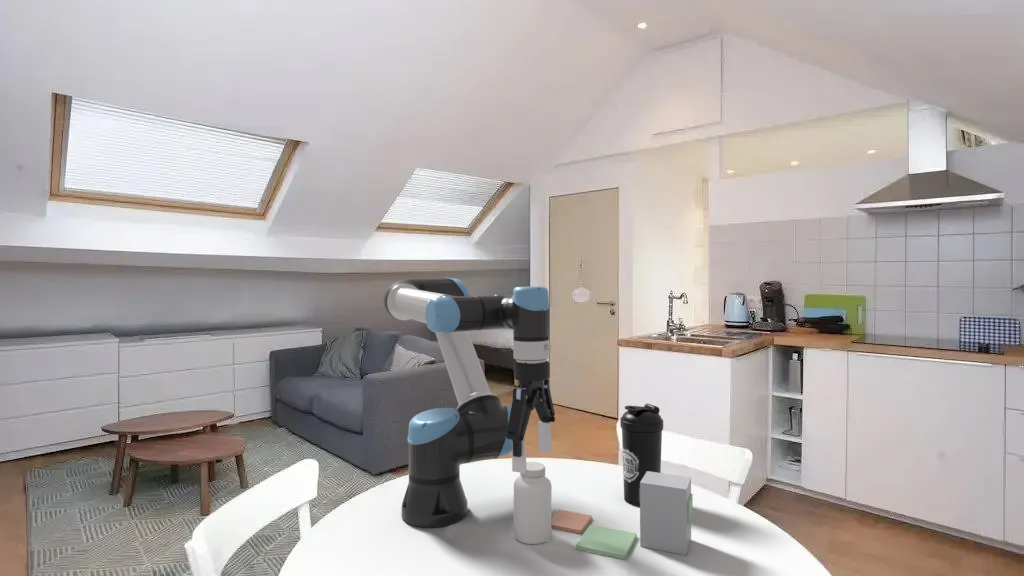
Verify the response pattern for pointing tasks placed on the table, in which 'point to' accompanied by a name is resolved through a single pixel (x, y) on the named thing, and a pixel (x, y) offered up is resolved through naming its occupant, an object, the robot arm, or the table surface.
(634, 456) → the water bottle
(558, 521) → the terracotta pad
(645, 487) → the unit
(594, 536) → the green pad
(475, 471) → the table surface
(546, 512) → the pill bottle
